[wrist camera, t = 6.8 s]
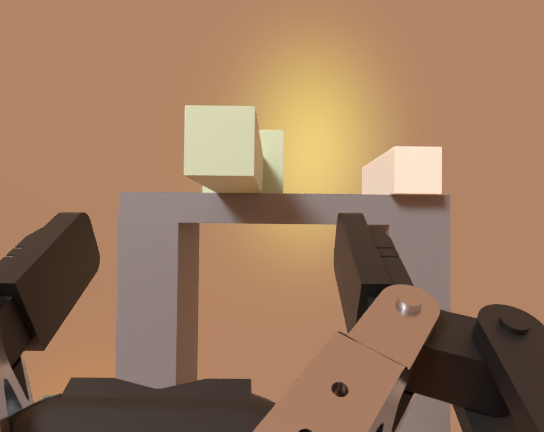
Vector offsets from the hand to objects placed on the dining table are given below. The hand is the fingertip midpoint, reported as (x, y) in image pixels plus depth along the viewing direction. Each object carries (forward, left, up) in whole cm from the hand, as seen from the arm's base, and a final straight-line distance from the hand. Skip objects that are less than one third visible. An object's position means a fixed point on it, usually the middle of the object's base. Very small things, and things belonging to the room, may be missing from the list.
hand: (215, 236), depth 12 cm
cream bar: (+11, +16, +3) cm, 20 cm away
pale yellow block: (0, +12, +2) cm, 12 cm away
